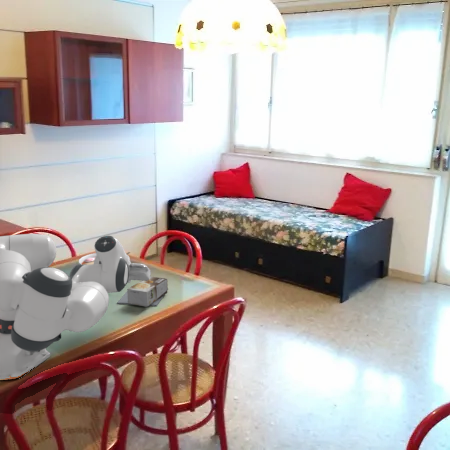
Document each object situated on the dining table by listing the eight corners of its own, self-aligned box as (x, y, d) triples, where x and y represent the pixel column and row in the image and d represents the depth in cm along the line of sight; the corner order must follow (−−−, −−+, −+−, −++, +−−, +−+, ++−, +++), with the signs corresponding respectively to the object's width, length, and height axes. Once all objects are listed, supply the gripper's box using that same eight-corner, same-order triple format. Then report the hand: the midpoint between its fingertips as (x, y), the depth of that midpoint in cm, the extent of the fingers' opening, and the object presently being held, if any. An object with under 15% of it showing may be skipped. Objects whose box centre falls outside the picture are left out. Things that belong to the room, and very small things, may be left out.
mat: (156, 306, 201) (156, 304, 201) (117, 303, 203) (117, 302, 203) (168, 289, 218) (168, 288, 218) (131, 287, 221) (131, 286, 220)
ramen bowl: (97, 263, 251) (97, 247, 249) (140, 268, 244) (139, 252, 242) (67, 280, 228) (66, 263, 226) (113, 286, 221) (112, 268, 219)
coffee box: (147, 307, 198) (168, 293, 212) (146, 292, 197) (168, 278, 211) (127, 303, 202) (149, 289, 216) (126, 288, 200) (149, 275, 215)
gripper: (148, 257, 181) (155, 274, 193) (91, 255, 183) (102, 271, 195) (145, 274, 178) (153, 289, 189) (87, 271, 180) (99, 287, 192)
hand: (126, 280), depth 192 cm, fingers closed
